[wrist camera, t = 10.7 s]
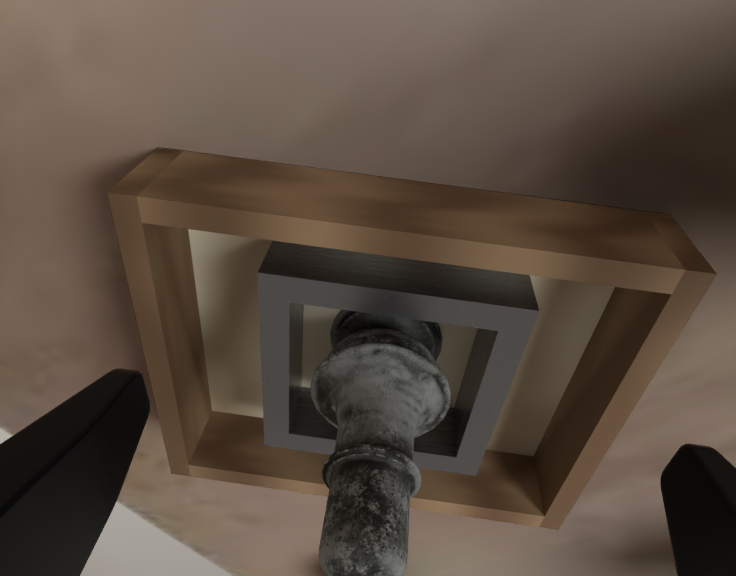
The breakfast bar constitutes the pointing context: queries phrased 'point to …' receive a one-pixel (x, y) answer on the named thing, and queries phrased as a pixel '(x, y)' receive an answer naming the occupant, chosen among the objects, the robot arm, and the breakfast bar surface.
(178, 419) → the walled box
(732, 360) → the breakfast bar surface
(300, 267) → the inlet collar
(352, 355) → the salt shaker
